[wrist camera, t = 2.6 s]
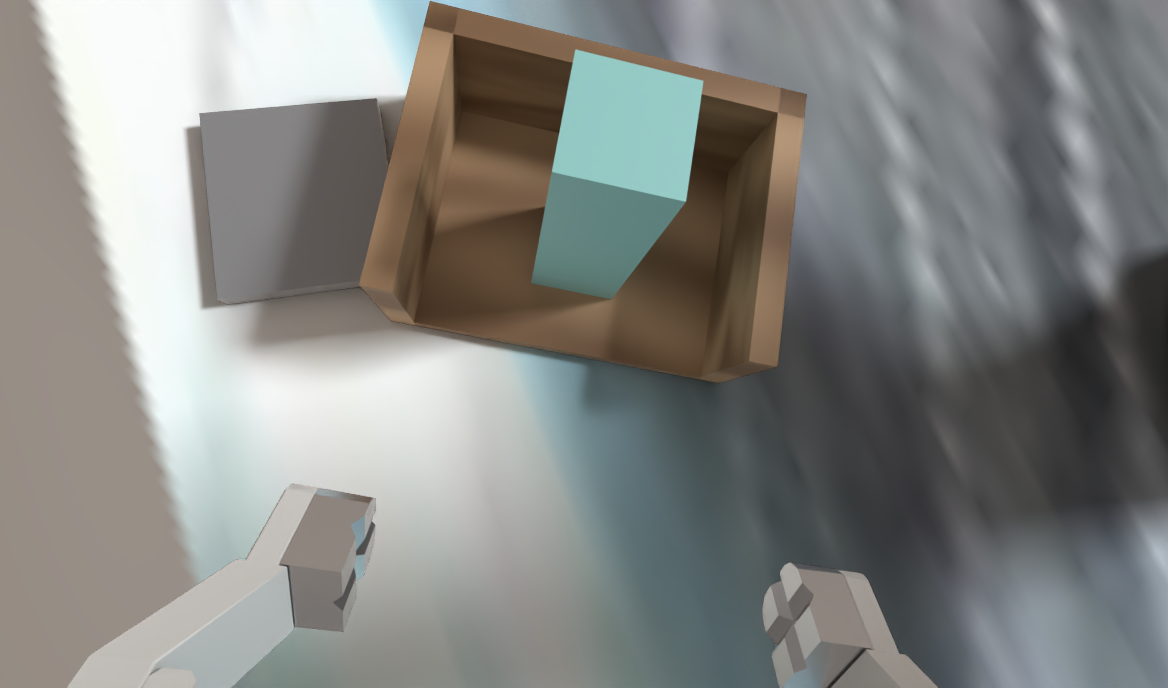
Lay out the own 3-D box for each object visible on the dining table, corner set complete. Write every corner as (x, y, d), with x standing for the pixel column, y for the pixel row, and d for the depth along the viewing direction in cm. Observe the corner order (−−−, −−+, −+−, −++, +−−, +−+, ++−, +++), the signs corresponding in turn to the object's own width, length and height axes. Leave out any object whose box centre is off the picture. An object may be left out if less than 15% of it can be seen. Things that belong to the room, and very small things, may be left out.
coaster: (380, 109, 30) (376, 98, 29) (404, 280, 29) (401, 275, 28) (209, 124, 29) (199, 113, 28) (227, 304, 27) (216, 299, 26)
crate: (718, 383, 30) (777, 366, 24) (391, 320, 28) (358, 285, 22) (746, 163, 32) (807, 94, 26) (444, 93, 31) (430, 0, 24)
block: (611, 299, 29) (685, 201, 17) (531, 283, 29) (551, 171, 17) (624, 223, 30) (703, 80, 18) (545, 206, 29) (575, 49, 18)
